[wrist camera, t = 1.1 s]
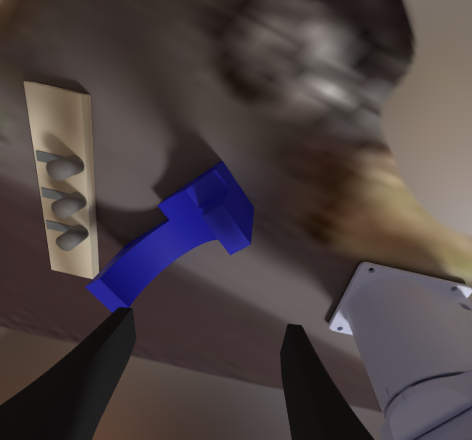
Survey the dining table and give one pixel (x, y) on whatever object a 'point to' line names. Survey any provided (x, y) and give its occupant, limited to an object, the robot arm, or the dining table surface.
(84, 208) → the coat hook rack
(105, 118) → the dining table surface
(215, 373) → the dining table surface
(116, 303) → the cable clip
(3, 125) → the dining table surface
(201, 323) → the dining table surface
